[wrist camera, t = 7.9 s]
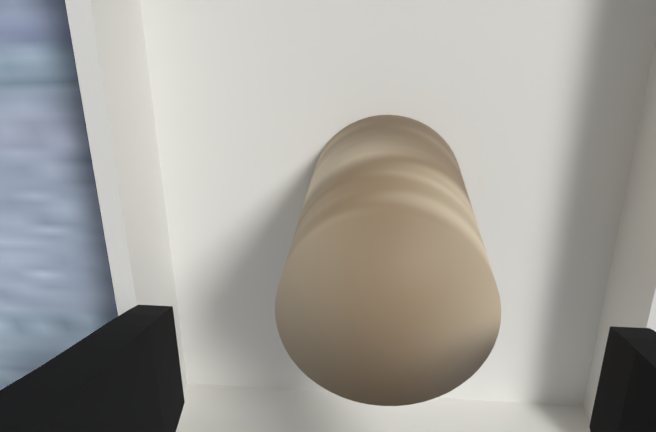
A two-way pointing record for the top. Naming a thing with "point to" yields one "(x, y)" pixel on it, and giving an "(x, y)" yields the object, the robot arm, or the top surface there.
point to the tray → (301, 158)
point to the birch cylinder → (388, 269)
